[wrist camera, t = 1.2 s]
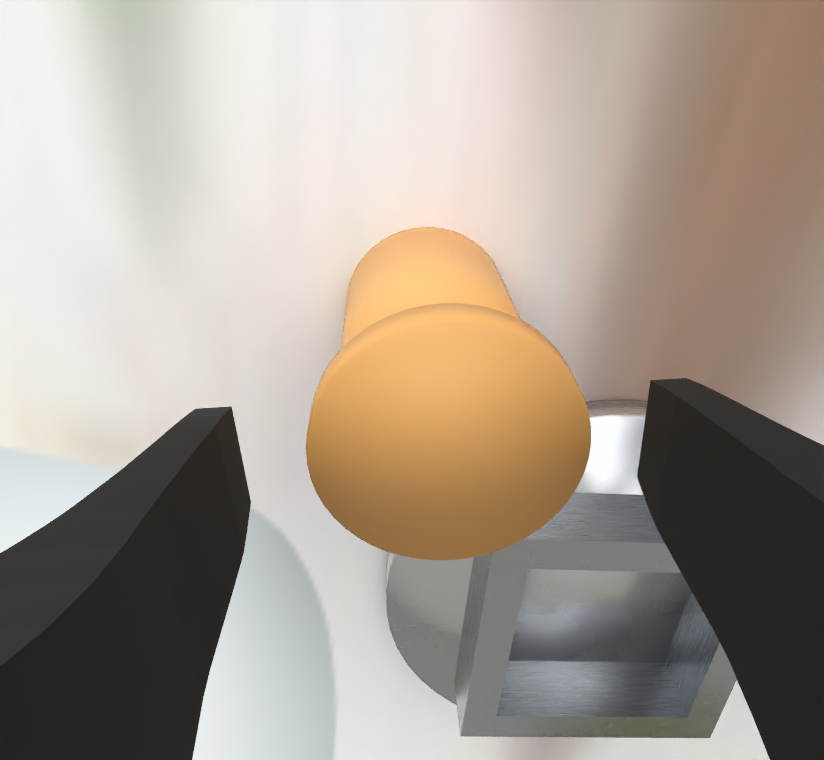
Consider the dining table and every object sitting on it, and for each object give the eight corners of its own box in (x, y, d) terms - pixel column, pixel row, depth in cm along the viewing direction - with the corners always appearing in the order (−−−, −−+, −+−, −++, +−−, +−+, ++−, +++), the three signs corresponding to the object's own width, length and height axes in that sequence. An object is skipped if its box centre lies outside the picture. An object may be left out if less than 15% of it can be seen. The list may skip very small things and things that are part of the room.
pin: (533, 216, 16) (619, 331, 10) (505, 390, 18) (563, 563, 13) (332, 203, 16) (306, 314, 10) (329, 382, 18) (305, 556, 12)
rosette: (1064, 419, 20) (1186, 491, 17) (882, 706, 26) (948, 796, 23) (399, 389, 18) (403, 463, 15) (375, 700, 24) (375, 796, 21)
